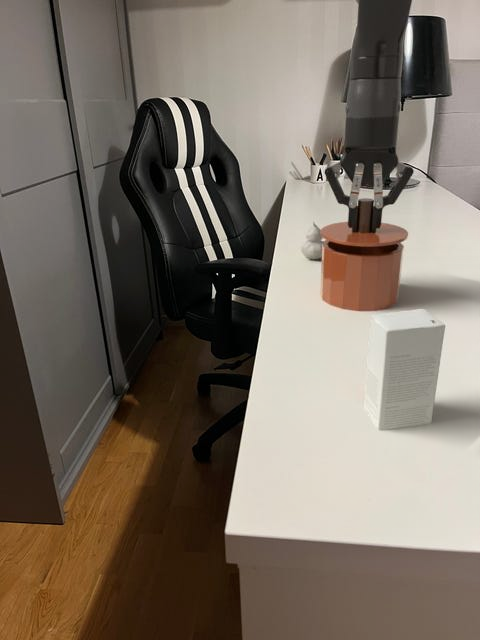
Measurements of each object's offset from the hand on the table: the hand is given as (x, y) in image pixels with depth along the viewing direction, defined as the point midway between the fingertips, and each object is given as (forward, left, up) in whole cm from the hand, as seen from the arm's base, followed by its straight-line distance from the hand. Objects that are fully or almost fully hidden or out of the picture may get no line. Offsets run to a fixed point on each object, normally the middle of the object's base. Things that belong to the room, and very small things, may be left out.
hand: (363, 230), depth 80 cm
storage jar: (0, 0, -12) cm, 12 cm away
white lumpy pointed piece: (-13, -19, -12) cm, 26 cm away
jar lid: (0, 0, -1) cm, 1 cm away
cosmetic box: (+26, +22, -12) cm, 36 cm away
